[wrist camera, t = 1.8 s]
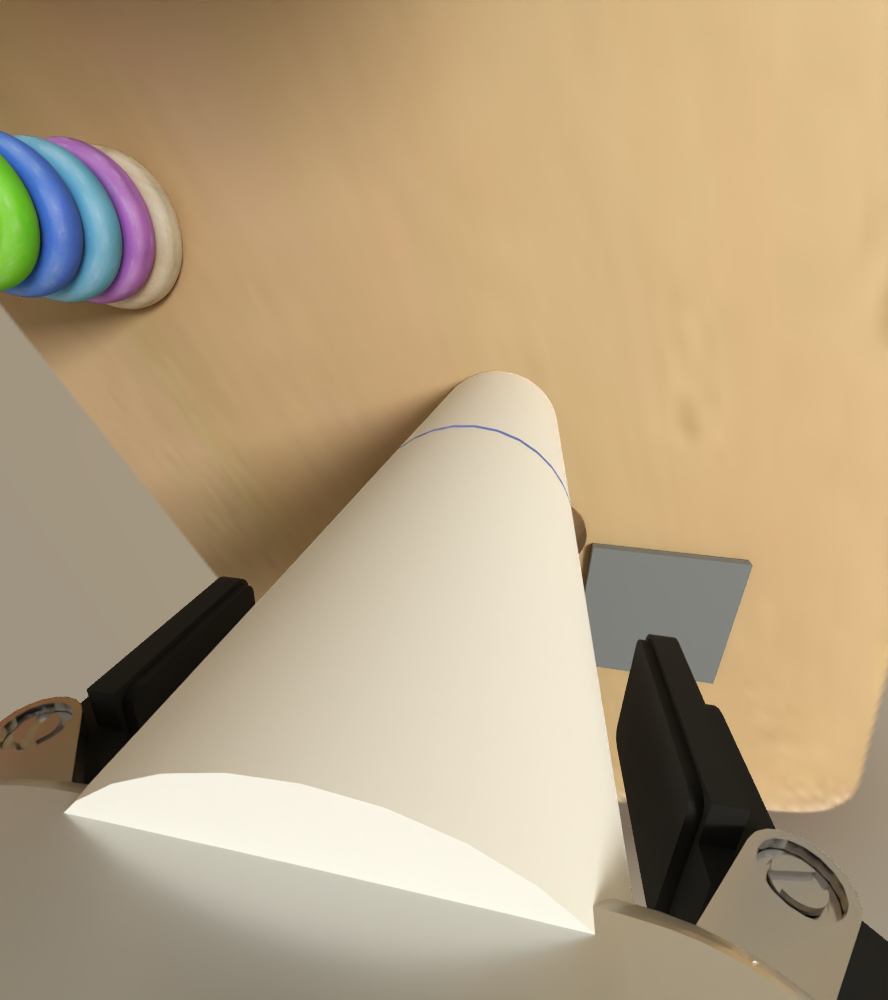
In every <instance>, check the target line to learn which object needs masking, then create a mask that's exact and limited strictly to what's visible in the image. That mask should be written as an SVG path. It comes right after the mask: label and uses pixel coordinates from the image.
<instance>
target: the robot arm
mask: <svg viewBox="0 0 888 1000" xmlns="http://www.w3.org/2000/svg"><path fill="white" fill-rule="evenodd" d="M254 605H255V599H254V591H253V588H252V587H251V586H248V583H247V581H246V580H244V579H239V578H231V577H220V578H218V579H217V580H216V581H215V582H214V583H212V584H211V585H210V586H209V587H208V588H207V589H205V590H204V591H203V592H202V593H201V594H199V595H198V596H197V597H196V598H195V599H193V600H192V601H191V602H190V603H189V604H188V605H186V606H185V607H184V608H183V609H182V610H180V611H179V612H178V613H177V614H176V615H174V616H173V617H172V618H171V619H170V620H168V621H167V622H166V623H165V624H164V625H163V626H161V627H160V628H159V629H158V630H157V631H155V632H154V633H153V634H152V635H151V636H149V637H148V638H147V639H146V640H145V641H144V642H142V643H141V644H140V645H139V646H138V647H136V648H135V649H134V650H133V651H132V652H130V653H129V654H128V655H127V656H126V657H125V658H123V659H122V660H121V661H120V662H119V663H118V664H116V665H115V666H114V667H113V668H111V669H110V670H109V671H108V672H107V673H105V675H103V676H102V677H101V678H100V679H98V680H97V681H96V682H95V683H94V684H92V685H91V686H90V687H89V688H88V689H87V692H88V696H89V697H87V698H86V699H85V700H84V701H83V702H82V703H79V702H78V701H77V700H76V699H73V698H70V697H54V698H48V699H43V700H40V701H37V702H35V703H32V704H29V705H27V706H25V707H23V708H21V709H19V710H17V711H15V712H13V713H12V714H10V715H9V716H8V717H6V718H5V719H3V720H2V721H1V722H0V1000H888V941H886V940H885V939H883V937H882V936H880V935H879V934H878V933H876V932H875V931H874V930H873V929H871V928H870V927H869V926H868V925H867V924H865V923H864V922H863V921H862V907H861V904H860V901H859V898H858V895H857V892H856V890H855V889H854V887H853V886H852V884H851V882H850V881H849V879H848V878H847V876H846V875H845V874H844V873H843V872H842V870H841V869H840V868H839V867H838V866H837V865H836V864H835V863H834V861H833V860H832V859H831V858H829V857H828V856H827V855H826V854H824V853H823V852H822V851H821V850H819V849H818V848H817V847H816V846H814V845H813V844H811V843H809V842H807V841H806V840H804V839H802V838H800V837H799V836H796V835H794V834H791V833H788V832H785V831H783V830H776V829H775V827H774V825H773V823H772V821H771V818H770V816H769V814H768V812H767V810H766V807H765V805H764V803H763V801H762V799H761V797H760V794H759V792H758V790H757V788H756V786H755V784H754V782H753V779H752V777H751V775H750V773H749V771H748V769H747V766H746V764H745V762H744V760H743V758H742V756H741V753H740V751H739V749H738V747H737V745H736V743H735V740H734V738H733V736H732V734H731V732H730V730H729V727H728V725H727V723H726V721H725V719H724V717H723V715H722V713H721V711H720V710H719V708H717V707H716V706H714V705H708V704H705V702H704V700H703V697H702V695H701V693H700V690H699V688H698V686H697V683H696V681H695V679H694V677H693V674H692V672H691V670H690V667H689V665H688V663H687V660H686V658H685V656H684V653H683V651H682V649H681V646H680V644H679V642H678V640H677V638H675V637H668V636H660V635H653V634H648V635H647V637H646V640H641V639H639V640H638V641H637V644H636V647H635V652H634V656H633V661H632V665H631V669H630V674H629V678H628V682H627V687H626V691H625V695H624V700H623V704H622V708H621V713H620V717H619V721H618V726H617V732H616V743H617V750H618V755H619V760H620V766H621V771H622V777H623V782H624V787H625V793H626V798H627V803H628V808H629V814H630V819H631V825H632V830H633V835H634V841H635V846H636V852H637V857H638V862H639V868H640V873H641V879H642V884H643V889H644V895H645V900H646V905H647V908H646V907H642V906H639V905H635V904H632V903H629V902H625V901H622V900H619V899H615V898H614V899H607V900H603V901H601V902H599V903H597V904H596V905H594V906H593V915H594V927H595V935H594V934H590V933H586V932H582V931H577V930H573V929H569V928H565V927H560V926H556V925H552V924H548V923H544V922H540V921H535V920H531V919H527V918H523V917H519V916H515V915H511V914H506V913H502V912H498V911H493V910H489V909H485V908H480V907H476V906H472V905H467V904H463V903H459V902H455V901H450V900H446V899H442V898H437V897H433V896H429V895H424V894H420V893H416V892H411V891H407V890H403V889H399V888H394V887H390V886H386V885H381V884H377V883H373V882H368V881H364V880H360V879H356V878H351V877H347V876H343V875H338V874H334V873H330V872H325V871H321V870H317V869H312V868H308V867H304V866H299V865H295V864H290V863H286V862H282V861H277V860H273V859H268V858H264V857H260V856H255V855H251V854H247V853H242V852H238V851H233V850H229V849H224V848H220V847H215V846H211V845H206V844H202V843H198V842H193V841H189V840H184V839H180V838H175V837H171V836H166V835H162V834H158V833H153V832H149V831H144V830H140V829H135V828H131V827H127V826H122V825H118V824H113V823H109V822H104V821H99V820H95V819H90V818H85V817H81V816H76V815H72V814H67V813H64V812H65V811H66V810H67V809H68V808H69V807H70V805H71V804H72V803H73V802H74V801H75V800H76V799H77V798H78V797H79V796H80V795H81V793H82V792H83V791H84V790H85V788H86V787H87V786H88V785H89V784H90V783H91V781H92V780H93V779H94V778H95V777H96V776H97V775H98V774H99V773H100V772H101V771H102V770H103V768H104V767H105V766H106V765H107V764H108V763H109V762H110V761H111V760H112V759H113V758H114V757H115V755H116V754H117V753H118V752H119V751H120V750H121V749H122V748H123V747H124V746H125V745H126V744H127V742H128V741H129V740H130V739H131V738H132V737H133V736H134V735H135V734H136V733H137V732H138V731H139V730H140V728H141V727H142V726H143V725H144V724H145V723H146V722H147V721H148V720H149V719H150V718H151V717H152V715H153V714H154V713H155V712H156V711H157V710H158V709H159V708H160V707H161V706H162V705H163V704H164V702H165V701H166V700H167V699H168V698H169V697H170V696H171V695H172V694H173V693H174V692H175V691H176V689H177V688H178V687H179V686H180V685H181V684H182V683H183V682H184V681H185V680H186V679H187V678H188V676H189V675H190V674H191V673H192V672H193V671H194V670H195V669H196V668H197V667H198V666H199V665H200V663H201V662H202V661H203V660H204V659H205V658H206V657H207V656H208V655H209V654H210V653H211V652H212V650H213V649H214V648H215V647H216V646H217V645H218V644H219V643H220V642H221V641H222V640H223V639H224V637H225V636H226V635H227V634H228V633H229V632H230V631H231V630H232V629H233V628H234V627H235V626H236V624H237V623H238V622H239V621H240V620H241V619H242V618H243V617H244V616H245V615H246V614H247V613H248V612H249V610H250V609H251V608H252V607H253V606H254Z"/></svg>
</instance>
